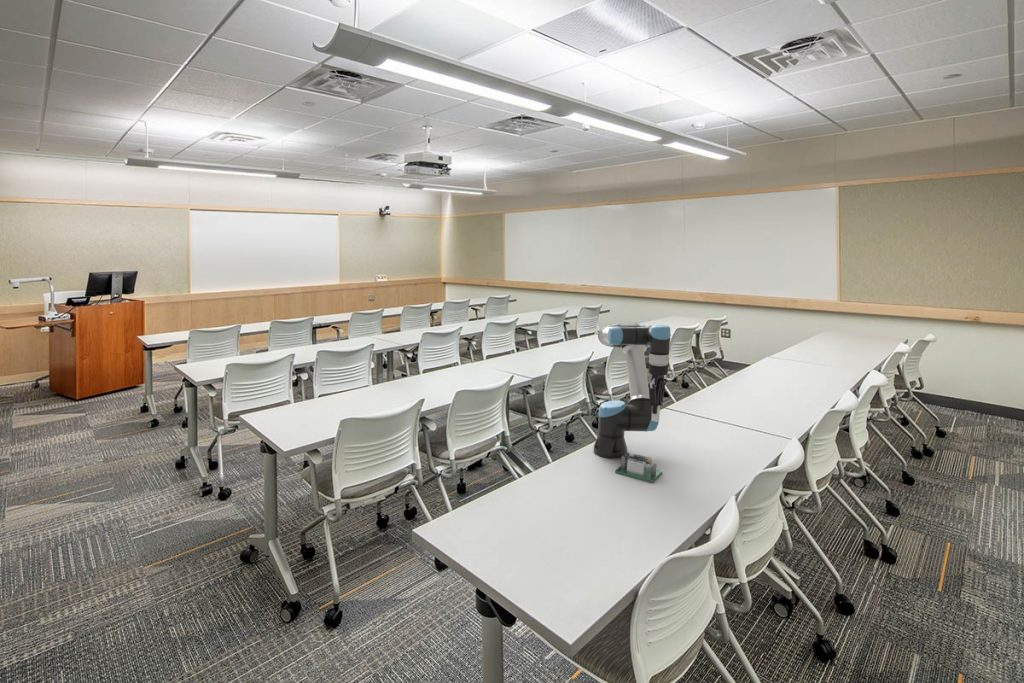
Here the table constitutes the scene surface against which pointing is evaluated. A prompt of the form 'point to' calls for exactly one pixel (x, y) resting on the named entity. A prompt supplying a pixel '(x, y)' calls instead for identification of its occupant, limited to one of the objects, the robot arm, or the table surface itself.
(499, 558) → the table surface
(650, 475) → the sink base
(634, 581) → the table surface
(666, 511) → the table surface
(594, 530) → the table surface
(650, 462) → the grey rod
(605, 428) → the robot arm
